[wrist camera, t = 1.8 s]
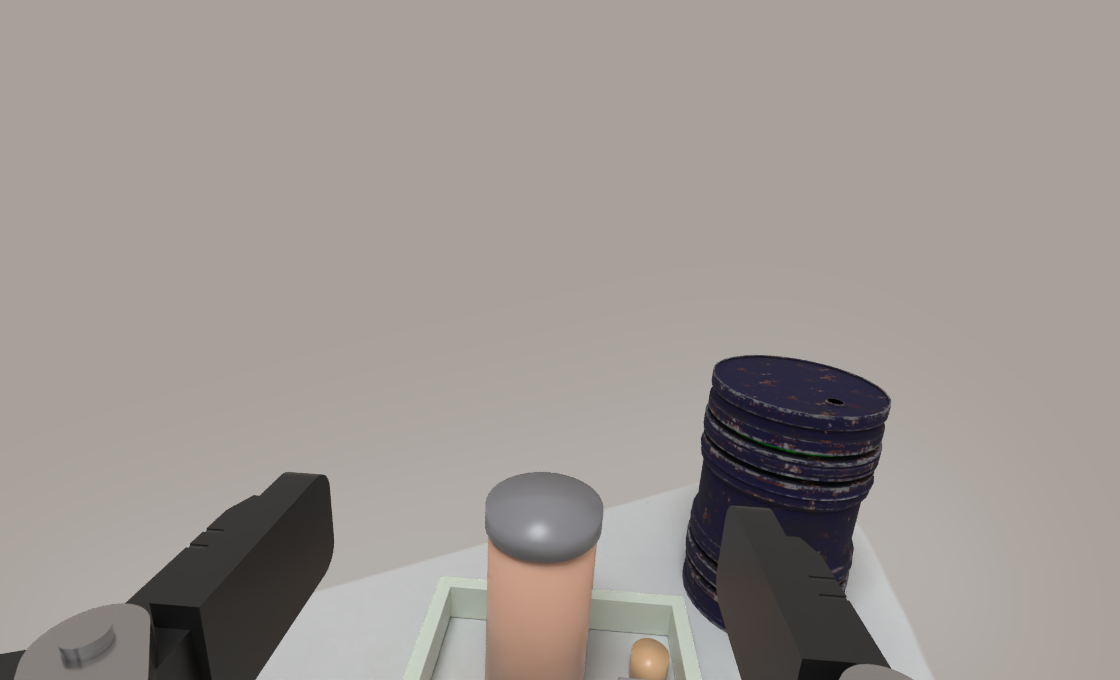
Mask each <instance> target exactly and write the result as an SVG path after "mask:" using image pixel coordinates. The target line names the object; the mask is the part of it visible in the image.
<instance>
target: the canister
mask: <svg viewBox="0 0 1120 680" xmlns="http://www.w3.org/2000/svg"><path fill="white" fill-rule="evenodd" d="M485 513H486V514H485V528H486V532H487V535H488V574H487V617H486V659H485V680H584V673H585V663H586V652H587V641H588V631H589V620H590V609H591V598H592V588H593V577H594V566H595V556H596V545H597V542H598V540H599V538H600V535H601V529H602V519H603V503H602V501H601V498H600V497H599V495H598V494H597V493H596V492H595V491H594V490H593V489H592V488H591V487H590V486H588V485H587V484H585V483H584V482H582V481H580V480H578V479H575V478H573V477H569V476H566V475H562V474H557V473H549V472H534V473H525V474H520V475H516V476H513V477H510V478H508V479H506V480H504V481H502V482H500V483H499V484H497V485H496V486H495V487H494V488H493V489H492V490H491V492H490V493H489V494H488V497H487V500H486V512H485Z"/></svg>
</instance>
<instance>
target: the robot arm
mask: <svg viewBox="0 0 1120 680" xmlns="http://www.w3.org/2000/svg"><path fill="white" fill-rule="evenodd" d="M333 548H334V533H333V522H332V509H331V496H330V486H329V481H328V478H327V477H326V476H325V475H321V474H307V473H294V472H285V473H283V474H282V475H281V476H280V477H279V478H278V479H277V480H276V481H275V482H274V483H272V485H270V486H269V487H268V488H267V489H266V490H265V491H264V492H263V493H262V494H261V495H260V496H256V495H254V496H252V497H250V498H248V499H246V500H244V501H242V502H240V503H239V504H237V505H235V506H233V507H231V508H229V509H228V510H226V511H225V512H224V513H223V514H222V515H221V516H220V517H219V518H217V519H216V520H215V521H214V522H213V523H212V524H211V525H210V526H209V527H208V528H207V531H206V532H202V533H201V534H200V535H199V536H198V537H197V538H196V539H195V540H193V541H192V542H191V543H190V547H189V548H185V549H184V550H183V551H181V552H180V553H179V554H178V555H177V556H176V557H175V558H174V559H173V560H172V561H171V562H170V563H168V564H167V565H166V566H165V567H164V568H163V569H162V570H161V571H160V572H159V573H158V574H157V575H155V577H153V578H152V579H151V580H150V581H149V582H148V583H147V584H146V585H145V586H144V587H142V588H141V589H140V590H139V591H138V592H137V593H136V594H135V595H134V596H133V597H132V598H130V599H129V600H128V601H127V602H126V603H125V604H112V605H106V606H102V607H98V608H94V609H91V610H88V611H85V612H82V613H80V614H78V615H75V616H73V617H71V618H69V619H67V620H65V621H63V622H61V623H60V624H58V625H56V626H55V627H53V628H51V629H50V630H48V631H47V632H46V633H44V634H43V635H41V636H40V637H39V638H38V639H37V640H36V641H35V642H34V643H32V645H31V646H30V647H29V648H28V649H27V650H23V651H17V652H11V653H5V654H0V680H255V679H256V678H257V676H258V675H259V673H260V672H261V670H262V669H263V667H264V666H265V664H266V663H267V661H268V660H269V658H270V657H271V655H272V654H273V652H274V651H275V649H276V648H277V646H278V645H279V643H280V642H281V640H282V639H283V637H284V636H285V634H286V633H287V631H288V630H289V628H290V627H291V625H292V624H293V622H294V620H295V619H296V617H297V616H298V614H299V613H300V611H301V610H302V608H303V607H304V605H305V604H306V602H307V601H308V599H309V598H310V596H311V595H312V593H313V592H314V590H315V589H316V587H317V586H318V584H319V583H320V581H321V580H322V578H323V577H324V575H325V573H326V571H327V570H328V567H329V565H330V562H331V559H332V554H333ZM716 588H717V598H718V603H719V607H720V611H721V614H722V617H723V621H724V624H725V627H726V630H727V634H728V637H729V640H730V643H731V647H732V650H733V653H734V656H735V660H736V663H737V666H738V669H739V673H740V676H741V679H742V680H913V679H911V678H910V677H908V676H906V675H904V674H902V673H900V672H898V671H895V670H893V669H891V667H890V666H889V664H888V663H887V661H886V659H885V658H884V656H883V654H882V653H881V651H880V650H879V648H878V646H877V645H876V643H875V642H874V640H873V638H872V637H871V635H870V633H869V632H868V630H867V629H866V627H865V625H864V624H863V622H862V621H861V619H860V617H859V616H858V614H857V612H856V611H855V609H854V608H853V606H852V604H851V603H850V601H847V599H846V595H845V593H844V591H843V590H842V588H841V587H840V585H839V583H838V582H835V577H834V575H833V574H832V572H831V570H830V569H829V567H828V566H827V564H826V562H825V561H824V559H823V557H822V556H821V555H820V554H819V553H817V552H816V551H815V550H814V549H813V548H812V547H810V546H809V545H808V544H807V543H806V542H805V541H803V540H802V539H801V538H800V537H791V536H786V534H785V533H784V531H783V529H782V527H781V525H780V524H779V522H778V520H777V518H776V516H775V515H774V513H773V511H772V510H771V509H769V508H760V507H746V506H729V508H728V510H727V513H726V518H725V524H724V530H723V536H722V542H721V549H720V555H719V561H718V567H717V576H716Z"/></svg>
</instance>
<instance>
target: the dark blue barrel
mask: <svg viewBox="0 0 1120 680" xmlns="http://www.w3.org/2000/svg"><path fill="white" fill-rule="evenodd" d="M712 385H713V387H712V388H711V390H710V395H709V402H708V404H707V406H706V412H705V417H704V432H703V434H702V437H701V445H702V446H701V451H702V456H703V458H704V459H703V466H702V472H701V479H700V485H699V492H698V494H697V495H696V497H695V498H694V501H693V505H692V509H691V518H690V520H689V524H688V529H687V536H686V558H685V562H684V566H683V583H684V587H685V590H686V592H687V595H688V596H689V598H690V600H691V601H692V603H693V604H694V605H695V607H696V608H697V609H698V610H699V611H700V613H702V614H703V615H704V616H705V617H706V618H707V619H708V620H709V621H710V622H712V623H713V624H714V625H716V626H717V627H718V628H720V629H721V630H723V631H725V632H727V630H726V627H725V624H724V621H723V617H722V614H721V611H720V607H719V603H718V598H717V588H716V576H717V567H718V561H719V555H720V549H721V542H722V536H723V530H724V524H725V518H726V513H727V510H728V508H729V506H746V507H760V508H769V509H771V510H772V511H773V513H774V515H775V516H776V518H777V520H778V522H779V524H780V525H781V527H782V529H783V531H784V533H785V534H786V536H791V537H800V538H801V539H802V540H803V541H805V542H806V543H807V544H808V545H809V546H810V547H812V548H813V549H814V550H815V551H816V552H817V553H819V554H820V555H821V556H822V557H823V559H824V561H825V562H826V564H827V566H828V567H829V569H830V570H831V572H832V574H833V575H834V577H835V582H838V583H839V585H840V587H841V588H842V590H843V591H844V592H845V588H846V585H847V581H848V576H849V570H850V568H851V565H852V556H853V549H854V547H853V542H852V535H853V531H854V527H855V523H856V519H857V515H858V511H859V507H860V503H861V501H863V500H864V499H865V498H866V496H867V495H868V493H869V490H870V489H871V487H872V485H873V483H874V476H873V475H874V470H875V469H876V467H877V465H878V461H879V458H880V455H881V451H882V442H881V441H882V438H883V434H884V430H885V424H884V422H885V421H886V420H887V418H888V415H889V411H890V407H891V399H890V397H889V395H888V394H887V393H886V392H885V391H884V390H882V389H881V388H880V387H878V386H877V385H875V384H874V383H872V382H870V381H868V380H866V379H864V378H862V377H860V376H857V375H855V374H852V373H850V372H847V371H844V370H841V369H838V368H834V367H831V366H828V365H824V364H820V363H816V362H811V361H806V360H801V359H795V358H788V357H779V356H767V355H747V356H737V357H731V358H727V359H724V360H722V361H720V362H718V363H717V364H716V365H715V366H714V369H713V376H712Z"/></svg>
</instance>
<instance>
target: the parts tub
mask: <svg viewBox="0 0 1120 680" xmlns="http://www.w3.org/2000/svg"><path fill="white" fill-rule="evenodd" d="M450 617H460V618H471V619H483V620H486V617H487V580H483V579H471V578H459V577H447V576H440V579H439V581H438V584H437V587H436V589H435V592H434V595H433V598H432V600H431V603H430V606H429V608H428V611H427V614H426V617H425V619H424V622H423V625H422V627H421V630H420V633H419V636H418V638H417V641H416V644H415V647H414V649H413V652H412V655H411V657H410V660H409V663H408V666H407V668H406V671H405V674H404V676H403V679H402V680H431V677H432V674H433V671H434V668H435V665H436V661H437V658H438V655H439V652H440V649H441V645H442V642H443V639H444V636H445V633H446V629H447V626H448V623H449V620H450ZM589 629H597V630H609V631H620V632H632V633H643V634H655V635H666V636H668V641H669V647H670V653H671V659H672V665H673V671H674V676H675V680H702V677H701V672H700V668H699V664H698V659H697V655H696V650H695V646H694V641H693V637H692V632H691V628H690V623H689V619H688V615H687V610H686V606H685V601H684V597H683V596H671V595H659V594H647V593H636V592H624V591H612V590H600V589H592V598H591V609H590V620H589ZM668 664H669V653H668V650H667V649H666V647H665V646H664V645H663V644H662V643H660V642H659V641H657V640H654V639H650V638H643V639H640V640H638V641H636V642H635V643H634V644H633V646H632V651H631V659H630V667H629V678H622V677H618V680H666V677H667V671H668Z"/></svg>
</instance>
